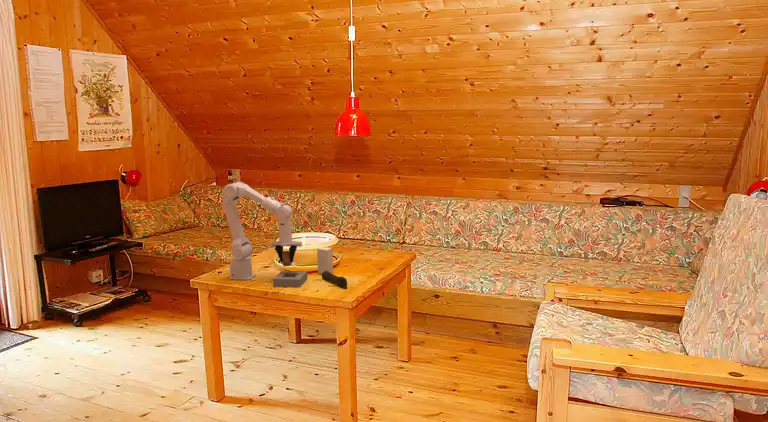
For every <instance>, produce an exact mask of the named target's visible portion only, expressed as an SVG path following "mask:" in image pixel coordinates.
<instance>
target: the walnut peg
mask: <svg viewBox="0 0 768 422" xmlns="http://www.w3.org/2000/svg"><path fill="white" fill-rule="evenodd" d="M281 263H282V266H283V267H289V266H292V263H293V262H292V263H290V251H289V250H283V252H282V262H281Z"/></svg>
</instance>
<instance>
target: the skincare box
mask: <svg viewBox="0 0 768 422" xmlns="http://www.w3.org/2000/svg"><path fill="white" fill-rule="evenodd" d="M316 254H317V256H316V257H317V258H316V259H317V274H321V275H322V273H323V272H324V271H329V273H331V274H333V273H334V266H333V263H334V261H333V260H334V259H333V248H332V247H324V246H320V247H318V248H316Z"/></svg>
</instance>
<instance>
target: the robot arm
mask: <svg viewBox="0 0 768 422" xmlns="http://www.w3.org/2000/svg"><path fill="white" fill-rule="evenodd" d="M242 197H248V198H249V199H251V200H254V201H255V202H256V203H259V204H261V206H262V208H263V209H264V210H266V211H268V212H270V214H273V215H275V217H276V219H277V223H278V224H277V225H278V226H277V227H278V240H275V241H269V247H274V250H275V253H276V254H277V255H278V258H279V262H280V263H282V252H283V251H284V247H289V248H288V251H290V263H293V262H294V257H295V254H296V251H297V249H298V248H301V247H303V241H297V240H293V228H292V215H293V213H294V211H293V208H292V206H291V205H289V204H284V202H280V201H278V200H276V199H275V197H273V196H267V197H265V195H262V194H261V193H260V192H258V191H257V190H255V189H253V188H252V187H250V186H249V184H246V183H244V182H242V181H236V182H233V183H228V184H226V185H225V186H224V188H223V189H222V202H221V203H222V207H223V211H224V214H225V217H226V220H227V224H228V227H229V230H230V233H231V237H232V243H231V249H232V251H231V255H232V259H230V262H229V275H230V276H229V280H243V281H245V280H247V281H248V280H251V279H252V278H254V277H255V276H256V273H253V264H252V255H253V253H254V246H253V245H252V244H251V242H250V240H249V238H248V237H246V235H245V232H244V228H243V225H242V222H241V218H240V214H239V211H238V209H237V205H236V203H237V201H239V199H240V198H242Z"/></svg>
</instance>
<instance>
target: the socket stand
mask: <svg viewBox="0 0 768 422" xmlns="http://www.w3.org/2000/svg"><path fill="white" fill-rule="evenodd" d="M307 280H308V271H298V270H297V271H296V270H295V271H293V270H291V271H290V270H288V271H287V270H281V271H280V272H278V273H277V274H276V276H274V277H273V278H272V284H273V285H272V286H273V287H275V288H301V287H302V286H303V285H304V284H305V283H306V281H307Z"/></svg>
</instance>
